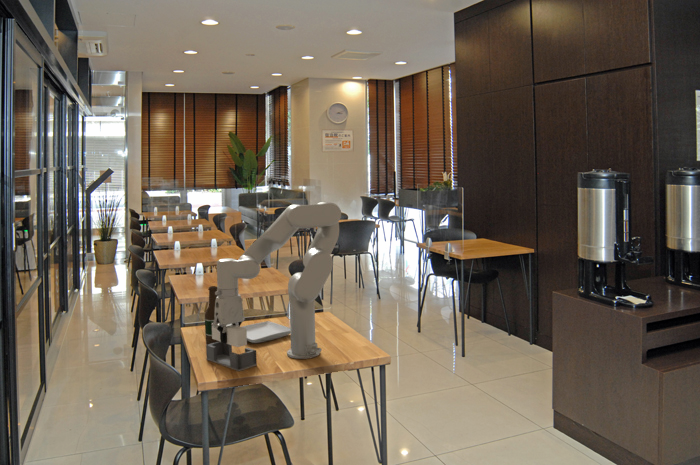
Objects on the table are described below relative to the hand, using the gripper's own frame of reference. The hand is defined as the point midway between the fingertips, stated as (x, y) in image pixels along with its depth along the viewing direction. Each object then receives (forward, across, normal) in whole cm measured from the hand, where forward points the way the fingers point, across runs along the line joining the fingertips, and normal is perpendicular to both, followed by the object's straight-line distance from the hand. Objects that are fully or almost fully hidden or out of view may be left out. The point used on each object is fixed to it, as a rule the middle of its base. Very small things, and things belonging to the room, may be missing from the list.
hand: (229, 340), depth 205 cm
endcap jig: (+8, 0, 0) cm, 8 cm away
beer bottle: (+9, +10, +24) cm, 27 cm away
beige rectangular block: (0, 0, 0) cm, 0 cm away
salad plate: (+9, +29, +18) cm, 35 cm away
